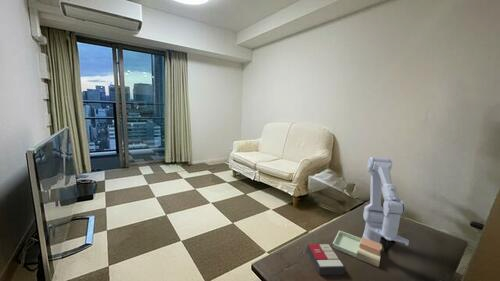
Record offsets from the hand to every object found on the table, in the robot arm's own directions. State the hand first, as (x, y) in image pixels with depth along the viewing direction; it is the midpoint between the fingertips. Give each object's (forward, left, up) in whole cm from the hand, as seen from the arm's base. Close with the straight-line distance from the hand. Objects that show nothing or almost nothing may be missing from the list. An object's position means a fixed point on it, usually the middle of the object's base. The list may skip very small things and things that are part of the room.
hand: (385, 252), depth 94 cm
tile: (0, -6, -1) cm, 6 cm away
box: (0, -16, -4) cm, 17 cm away
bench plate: (0, -6, -4) cm, 7 cm away
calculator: (+19, -22, -5) cm, 29 cm away
